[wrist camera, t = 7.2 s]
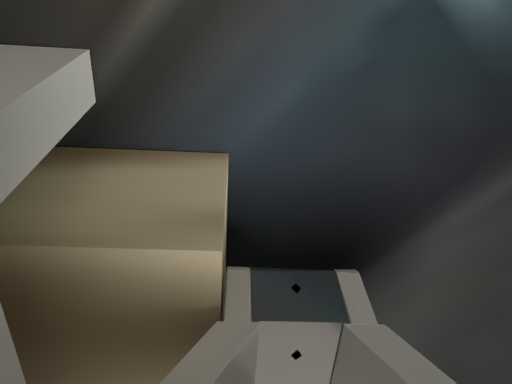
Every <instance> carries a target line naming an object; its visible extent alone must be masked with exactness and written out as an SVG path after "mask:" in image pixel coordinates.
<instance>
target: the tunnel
mask: <svg viewBox="0 0 512 384" xmlns="http://www.w3.org/2000/svg"><path fill="white" fill-rule="evenodd" d="M95 103H96V99H95V91H94V84H93V76H92V68H91V60H90V52H89V49H72V48H54V47H36V46H18V45H0V204H1V203H2V202H3V201H4V199H5V198H6V197H7V196H8V195H9V194H10V193H11V192H12V191H13V190H14V189H15V188H16V187H17V186H18V185H19V183H20V182H21V181H22V180H23V179H24V178H25V177H26V176H27V175H28V174H29V173H30V172H31V171H32V170H33V169H34V168H35V166H36V165H37V164H38V163H39V162H40V161H41V160H42V159H43V158H44V157H45V156H46V155H47V154H48V153H49V152H50V150H51V149H52V148H53V147H54V146H55V145H56V144H57V143H58V142H59V141H60V140H61V139H62V138H63V137H64V136H65V134H66V133H67V132H68V131H69V130H70V129H71V128H72V127H73V126H74V125H75V124H76V123H77V122H78V121H79V120H80V119H81V117H82V116H83V115H84V114H85V113H86V112H87V111H88V110H89V109H90V108H91V107H92V106H93V105H94V104H95ZM0 384H26V382H25V378H24V375H23V372H22V369H21V366H20V363H19V359H18V356H17V353H16V350H15V347H14V344H13V341H12V337H11V334H10V331H9V328H8V325H7V322H6V318H5V315H4V312H3V309H2V306H1V303H0Z"/></svg>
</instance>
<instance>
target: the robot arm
mask: <svg viewBox="0 0 512 384" xmlns="http://www.w3.org/2000/svg"><path fill="white" fill-rule="evenodd" d="M160 384H457V383H455V382H454V381H453V380H452V379H451V378H449V377H448V376H447V375H446V374H444V373H443V372H442V371H441V370H440V369H438V368H437V367H436V366H435V365H433V364H432V363H431V362H430V361H429V360H427V359H426V358H425V357H424V356H422V355H421V354H420V353H419V352H418V351H416V350H415V349H414V348H413V347H411V346H410V345H409V344H408V343H407V342H405V341H404V340H403V339H402V338H400V337H399V336H398V335H397V334H396V333H394V332H393V331H392V330H391V329H390V328H388V327H387V326H386V325H380V324H378V323H377V320H376V318H375V315H374V312H373V310H372V307H371V304H370V301H369V299H368V296H367V293H366V290H365V288H364V285H363V282H362V279H361V277H360V274H359V272H358V271H357V270H335V269H334V270H307V269H281V268H260V267H250V268H249V267H232V266H227V270H226V287H225V307H224V321H217V322H216V323H215V324H214V325H213V326H212V327H211V328H210V329H209V330H208V331H207V333H206V334H205V335H204V336H203V337H202V338H201V339H200V340H199V341H198V342H197V343H196V345H195V346H194V347H193V348H192V349H191V350H190V351H189V352H188V353H187V354H186V355H185V356H184V358H183V359H182V360H181V361H180V362H179V363H178V364H177V365H176V366H175V367H174V368H173V370H172V371H171V372H170V373H169V374H168V375H167V376H166V377H165V378H164V379H163V380H162V381H161V383H160Z"/></svg>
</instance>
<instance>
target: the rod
mask: <svg viewBox="0 0 512 384" xmlns="http://www.w3.org/2000/svg"><path fill="white" fill-rule="evenodd" d="M228 160H229V153H205V152H180V151H154V150H129V149H103V148H78V147H53V148H52V149H51V150H50V152H49V153H48V154H47V155H46V156H45V157H44V158H43V159H42V160H41V161H40V162H39V163H38V164H37V165H36V166H35V168H34V169H33V170H32V171H31V172H30V173H29V174H28V175H27V176H26V177H25V178H24V179H23V180H22V181H21V182H20V183H19V185H18V186H17V187H16V188H15V189H14V190H13V191H12V192H11V193H10V194H9V195H8V196H7V197H6V198H5V199H4V201H3V202H2V203H1V204H0V303H1V306H2V309H3V312H4V315H5V318H6V322H7V325H8V328H9V331H10V334H11V337H12V341H13V344H14V347H15V350H16V353H17V356H18V359H19V363H20V366H21V369H22V372H23V375H24V378H25V382H26V384H160V383H161V381H162V380H163V379H164V378H165V377H166V376H167V375H168V374H169V373H170V372H171V371H172V370H173V368H174V367H175V366H176V365H177V364H178V363H179V362H180V361H181V360H182V359H183V358H184V356H185V355H186V354H187V353H188V352H189V351H190V350H191V349H192V348H193V347H194V346H195V345H196V343H197V342H198V341H199V340H200V339H201V338H202V337H203V336H204V335H205V334H206V333H207V331H208V330H209V329H210V328H211V327H212V326H213V325H214V324H215V323H216V322H217V321H223V314H224V295H225V276H226V237H227V199H228Z"/></svg>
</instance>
